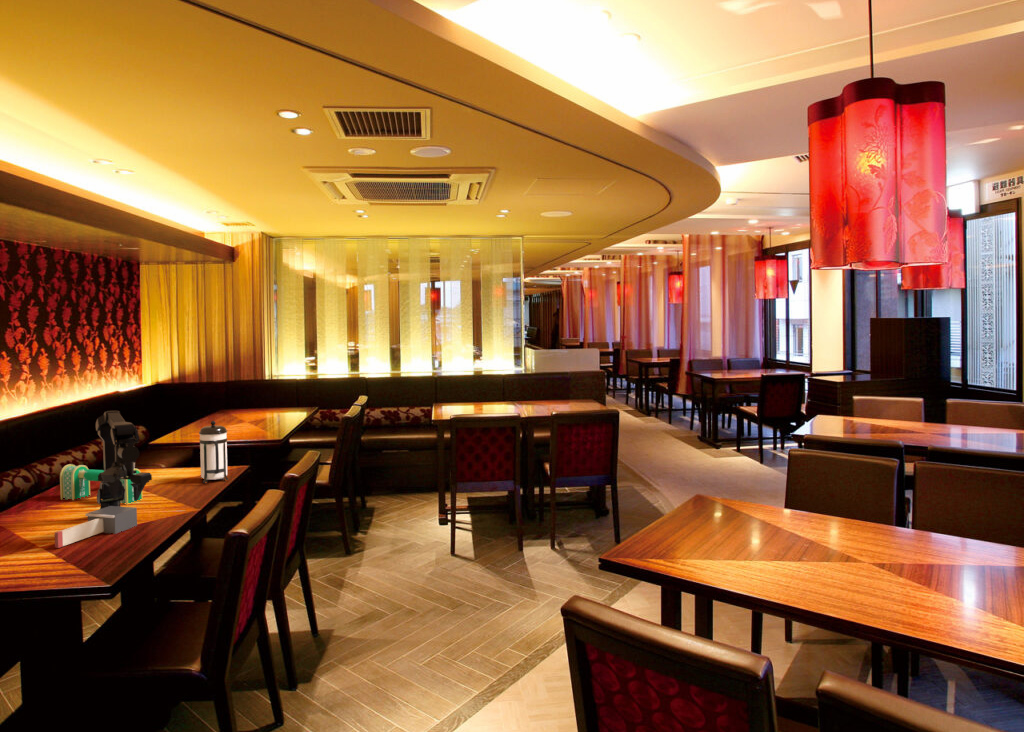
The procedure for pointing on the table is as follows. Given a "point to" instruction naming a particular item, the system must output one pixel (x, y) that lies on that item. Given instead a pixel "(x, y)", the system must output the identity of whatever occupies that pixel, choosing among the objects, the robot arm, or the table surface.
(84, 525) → the white bar pink end
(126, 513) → the block
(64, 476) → the decorative scroll
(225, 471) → the coffee press
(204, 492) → the table surface
